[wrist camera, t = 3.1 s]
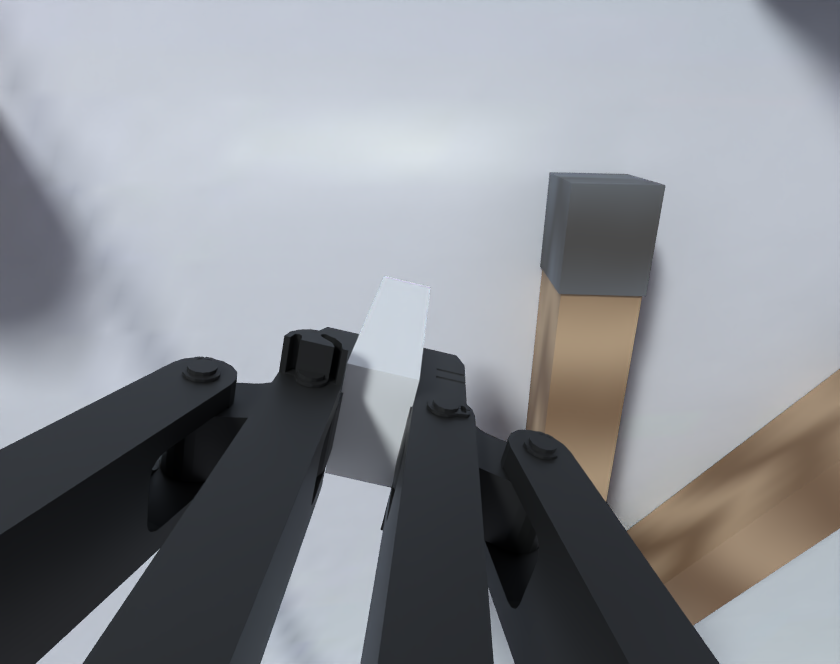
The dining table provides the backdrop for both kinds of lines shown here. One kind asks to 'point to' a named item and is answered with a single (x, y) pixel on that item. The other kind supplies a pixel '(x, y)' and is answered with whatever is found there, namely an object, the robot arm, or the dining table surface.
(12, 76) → the dining table surface
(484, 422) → the dining table surface
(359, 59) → the dining table surface
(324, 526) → the dining table surface
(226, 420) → the robot arm
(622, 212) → the bar
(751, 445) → the tongs lower arm
